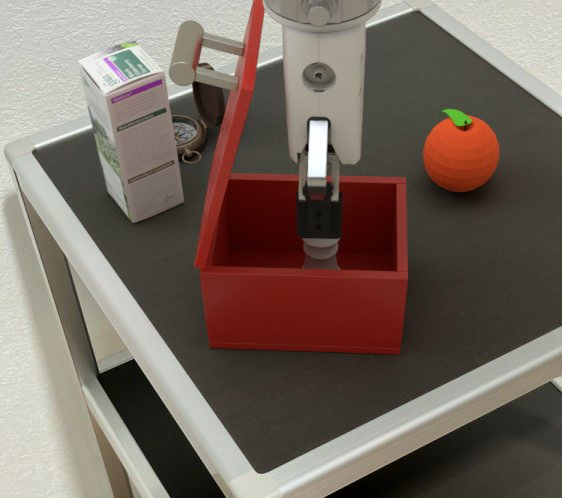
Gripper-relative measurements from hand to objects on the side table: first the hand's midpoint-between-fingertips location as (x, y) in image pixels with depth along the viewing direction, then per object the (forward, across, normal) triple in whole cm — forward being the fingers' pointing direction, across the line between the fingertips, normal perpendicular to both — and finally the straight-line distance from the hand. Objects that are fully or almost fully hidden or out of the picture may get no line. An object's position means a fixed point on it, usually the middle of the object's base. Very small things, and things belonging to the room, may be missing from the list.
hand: (322, 191), depth 73 cm
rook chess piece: (+11, 0, 0) cm, 11 cm away
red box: (+12, 0, +1) cm, 12 cm away
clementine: (+12, +16, -12) cm, 23 cm away
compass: (+12, +20, +14) cm, 28 cm away
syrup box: (+12, +12, +17) cm, 24 cm away
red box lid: (-5, 0, +6) cm, 8 cm away
